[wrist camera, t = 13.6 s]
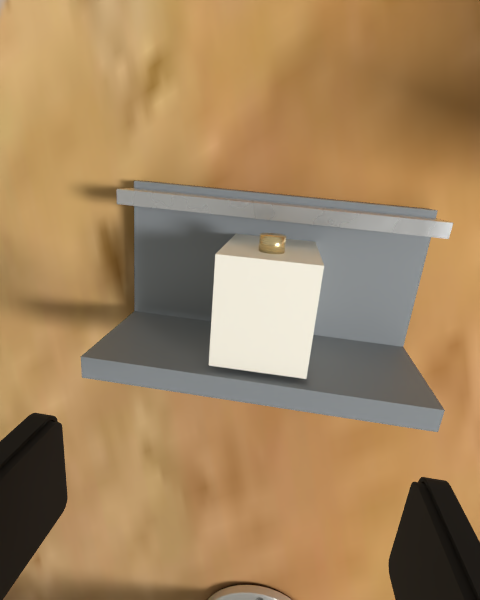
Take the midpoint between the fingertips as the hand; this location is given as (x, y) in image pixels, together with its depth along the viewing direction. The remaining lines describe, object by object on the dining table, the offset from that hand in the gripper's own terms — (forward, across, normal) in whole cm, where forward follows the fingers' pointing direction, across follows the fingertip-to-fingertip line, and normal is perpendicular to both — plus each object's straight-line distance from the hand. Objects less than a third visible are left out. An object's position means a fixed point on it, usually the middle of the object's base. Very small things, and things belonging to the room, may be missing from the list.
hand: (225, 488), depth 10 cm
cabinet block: (+20, 0, 0) cm, 21 cm away
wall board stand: (+22, 0, -1) cm, 22 cm away
